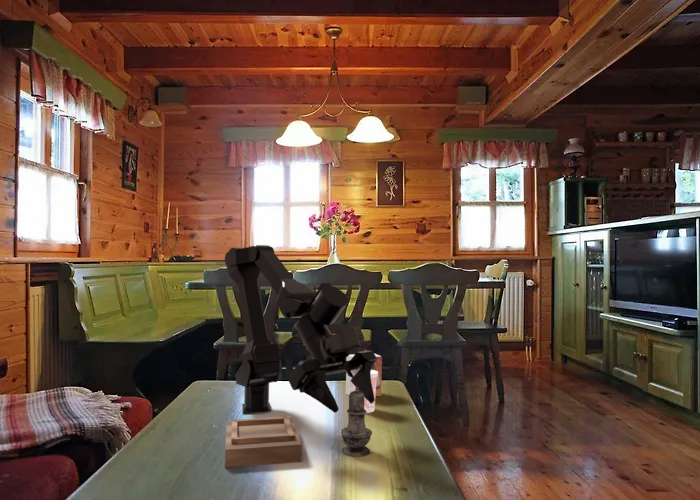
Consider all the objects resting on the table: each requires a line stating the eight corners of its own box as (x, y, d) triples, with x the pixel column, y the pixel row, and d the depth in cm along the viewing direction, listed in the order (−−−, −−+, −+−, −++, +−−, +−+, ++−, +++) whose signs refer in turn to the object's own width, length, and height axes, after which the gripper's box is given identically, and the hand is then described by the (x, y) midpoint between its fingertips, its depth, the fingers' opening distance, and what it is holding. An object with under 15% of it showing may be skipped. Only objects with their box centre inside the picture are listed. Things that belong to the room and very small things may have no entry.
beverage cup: (346, 409, 120) (347, 349, 120) (366, 404, 124) (366, 347, 124) (363, 415, 115) (363, 353, 116) (383, 410, 119) (383, 351, 119)
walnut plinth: (226, 435, 101) (227, 416, 101) (291, 431, 104) (292, 412, 104) (224, 467, 85) (225, 444, 85) (301, 461, 88) (301, 439, 88)
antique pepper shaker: (369, 458, 90) (370, 390, 90) (337, 455, 91) (337, 388, 91) (374, 447, 96) (375, 383, 96) (343, 444, 97) (344, 381, 97)
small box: (353, 399, 129) (354, 357, 129) (345, 394, 134) (345, 354, 134) (382, 396, 132) (382, 355, 132) (372, 391, 137) (372, 352, 137)
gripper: (298, 317, 92) (338, 389, 83) (371, 311, 105) (412, 373, 96) (273, 354, 97) (308, 426, 89) (345, 344, 110) (381, 406, 102)
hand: (355, 406), depth 94 cm, fingers open, 9 cm apart
